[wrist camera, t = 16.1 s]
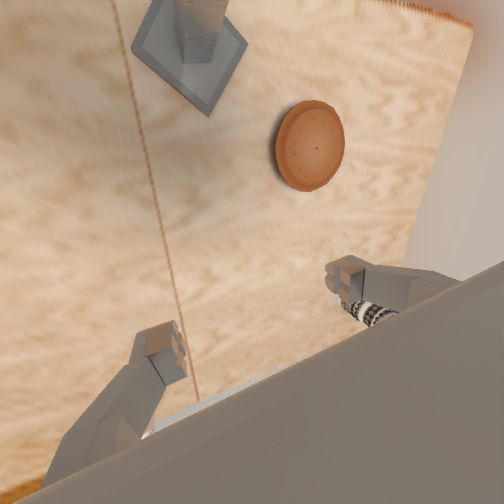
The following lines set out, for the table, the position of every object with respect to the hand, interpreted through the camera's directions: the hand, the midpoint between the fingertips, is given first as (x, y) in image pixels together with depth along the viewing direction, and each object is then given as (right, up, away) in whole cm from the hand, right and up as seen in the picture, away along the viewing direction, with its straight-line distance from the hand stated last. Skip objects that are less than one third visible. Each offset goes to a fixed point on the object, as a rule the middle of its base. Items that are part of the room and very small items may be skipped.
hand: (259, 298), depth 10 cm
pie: (+10, +23, +31) cm, 40 cm away
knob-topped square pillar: (-9, +32, +18) cm, 38 cm away
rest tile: (-9, +33, +19) cm, 39 cm away
